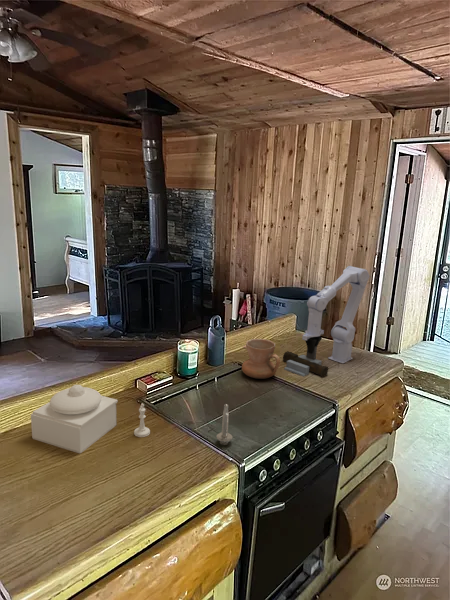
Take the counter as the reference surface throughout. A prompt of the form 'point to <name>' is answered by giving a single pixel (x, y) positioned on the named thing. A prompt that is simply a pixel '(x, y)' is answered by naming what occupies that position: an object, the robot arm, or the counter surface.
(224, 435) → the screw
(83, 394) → the butter dish
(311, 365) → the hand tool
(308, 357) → the free jaw
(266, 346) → the ceramic jug
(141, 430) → the chess piece
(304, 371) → the fixed jaw
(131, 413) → the counter surface
